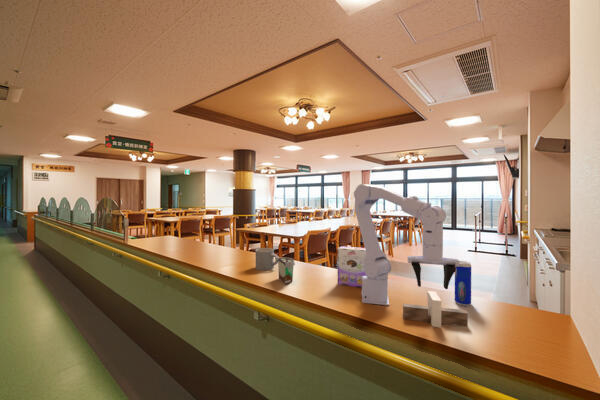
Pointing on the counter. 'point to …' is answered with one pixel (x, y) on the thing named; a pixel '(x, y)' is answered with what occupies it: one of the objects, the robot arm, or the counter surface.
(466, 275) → the beverage can
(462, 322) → the walnut slotted plate
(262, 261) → the coffee mug
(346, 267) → the candy box
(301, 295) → the counter surface
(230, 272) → the counter surface
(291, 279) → the food container
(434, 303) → the cream rectangular block
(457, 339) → the counter surface
